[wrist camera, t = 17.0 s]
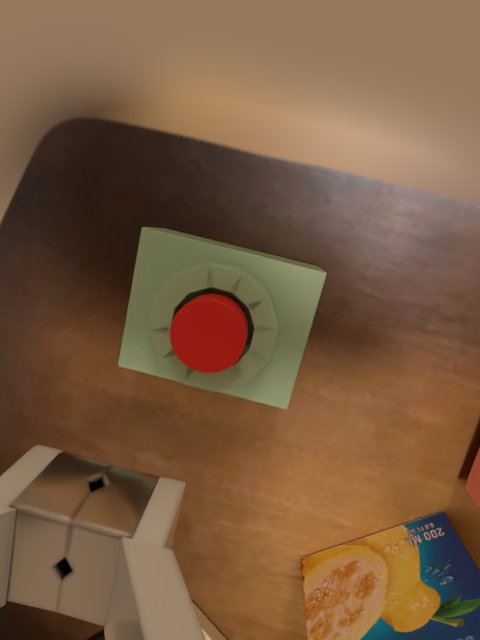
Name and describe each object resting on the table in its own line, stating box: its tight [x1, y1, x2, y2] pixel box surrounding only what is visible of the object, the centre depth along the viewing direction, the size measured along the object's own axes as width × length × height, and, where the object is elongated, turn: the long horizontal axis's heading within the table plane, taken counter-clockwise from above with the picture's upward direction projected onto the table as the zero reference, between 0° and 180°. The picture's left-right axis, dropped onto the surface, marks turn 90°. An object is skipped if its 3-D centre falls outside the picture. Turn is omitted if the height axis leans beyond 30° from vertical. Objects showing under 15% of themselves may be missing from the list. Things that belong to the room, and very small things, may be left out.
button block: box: [118, 227, 327, 410], centre depth 22 cm, size 10×8×6 cm
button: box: [170, 293, 248, 373], centre depth 19 cm, size 4×4×2 cm
